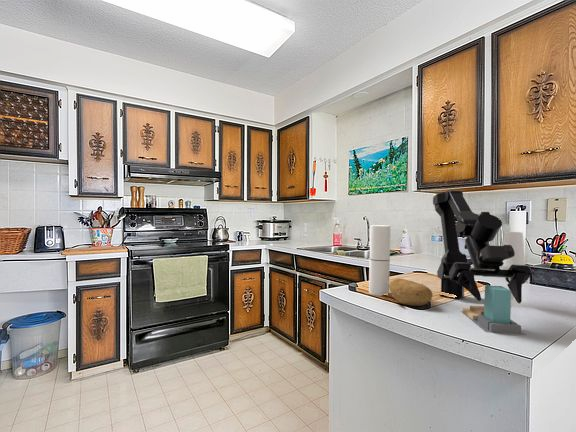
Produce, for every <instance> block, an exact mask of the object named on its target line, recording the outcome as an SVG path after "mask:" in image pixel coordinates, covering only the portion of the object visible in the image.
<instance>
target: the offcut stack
mask: <svg viewBox="0 0 576 432" xmlns="http://www.w3.org/2000/svg"><path fill="white" fill-rule="evenodd" d="M461 308H462V310H461V311H463V312H464V313H465V314H466V315H468V316H469V317H470V318H471V319H473V320H478V314H482V315H483V316H484V305H469V307H464V306H463V307H461ZM466 315H465V316H466Z"/></svg>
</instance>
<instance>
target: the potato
mask: <svg viewBox="0 0 576 432" xmlns="http://www.w3.org/2000/svg"><path fill="white" fill-rule="evenodd" d="M389 292H390V293H391V296H392V297H393V299H395V300H396V301H397V302H398V303H400V304H401V305H407V306H413V307H424V306H425V305H426V304H428V303H429V302H430V301H431V300H432V299H433V296H434V295H433V292H432V290H431V289H430V288H429V287H428V286H426V285H424V284H421V283H419V282H416V281H412V280H407V279H404V278H394V279H392V280H391V281H389Z"/></svg>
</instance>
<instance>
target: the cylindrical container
mask: <svg viewBox="0 0 576 432" xmlns="http://www.w3.org/2000/svg"><path fill="white" fill-rule="evenodd" d="M390 258H391V225H385V224H384V225H382V224H371V225H370V226H369V259H368V261H369V263H368V264H369V265H368V267H369V269H368V270H369V271H368V273H369V274H368V281H369V282H368V294H370V295H373V296H379V297H383V296H382V295H384V294H387V293H389V294H390V288H389V284H390V270H391V269H390V265H391V264H390V263H391V262H390V261H391V259H390Z"/></svg>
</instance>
